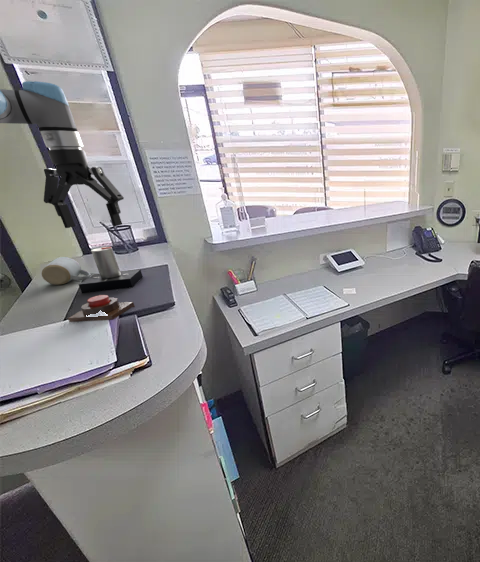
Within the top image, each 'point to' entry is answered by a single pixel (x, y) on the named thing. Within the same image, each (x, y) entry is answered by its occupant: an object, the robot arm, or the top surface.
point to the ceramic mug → (63, 271)
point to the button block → (111, 309)
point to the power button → (98, 300)
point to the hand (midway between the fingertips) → (94, 226)
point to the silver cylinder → (106, 262)
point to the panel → (111, 281)
